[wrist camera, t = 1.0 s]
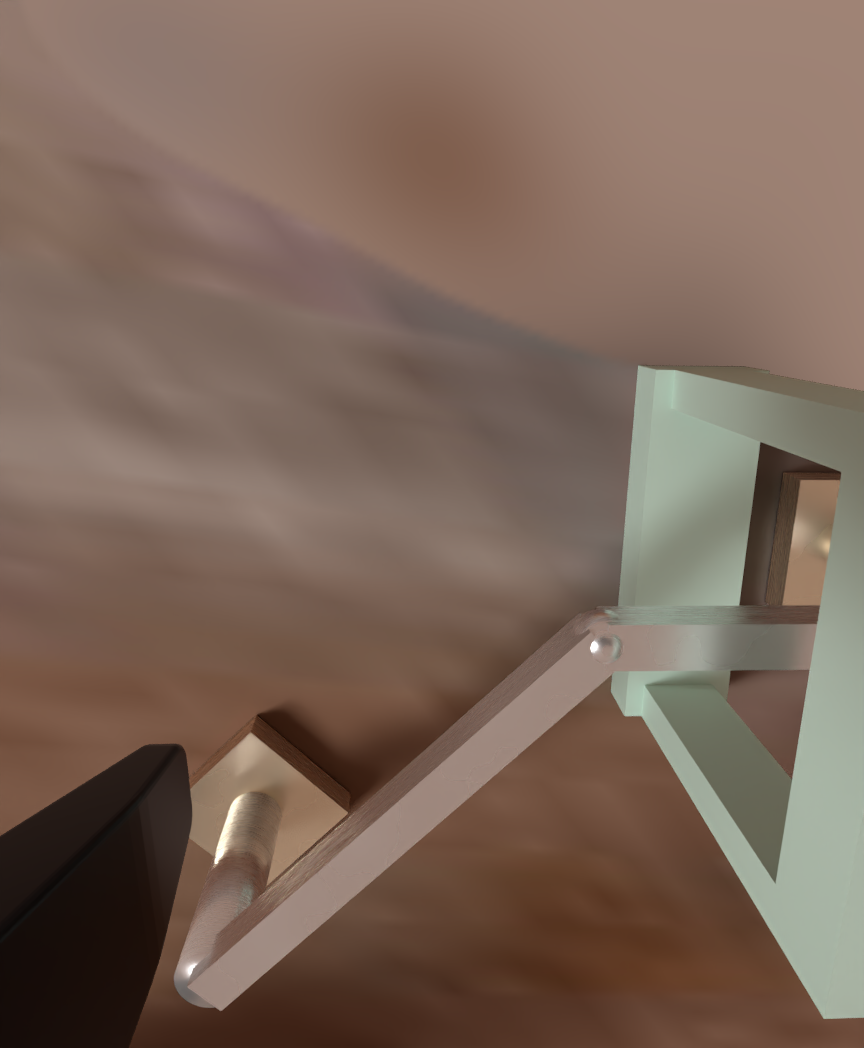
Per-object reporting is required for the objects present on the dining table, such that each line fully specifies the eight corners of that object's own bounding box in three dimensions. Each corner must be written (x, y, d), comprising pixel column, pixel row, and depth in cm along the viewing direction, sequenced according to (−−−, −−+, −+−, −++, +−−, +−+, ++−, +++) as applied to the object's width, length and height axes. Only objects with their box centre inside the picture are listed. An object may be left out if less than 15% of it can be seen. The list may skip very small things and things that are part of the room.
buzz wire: (950, 585, 23) (1243, 646, 14) (232, 891, 25) (95, 1114, 16) (877, 422, 23) (1127, 381, 14) (162, 742, 25) (-14, 883, 16)
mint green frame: (705, 690, 24) (966, 1014, 13) (611, 691, 24) (794, 1019, 13) (744, 366, 21) (1115, 430, 10) (638, 365, 21) (900, 430, 10)
